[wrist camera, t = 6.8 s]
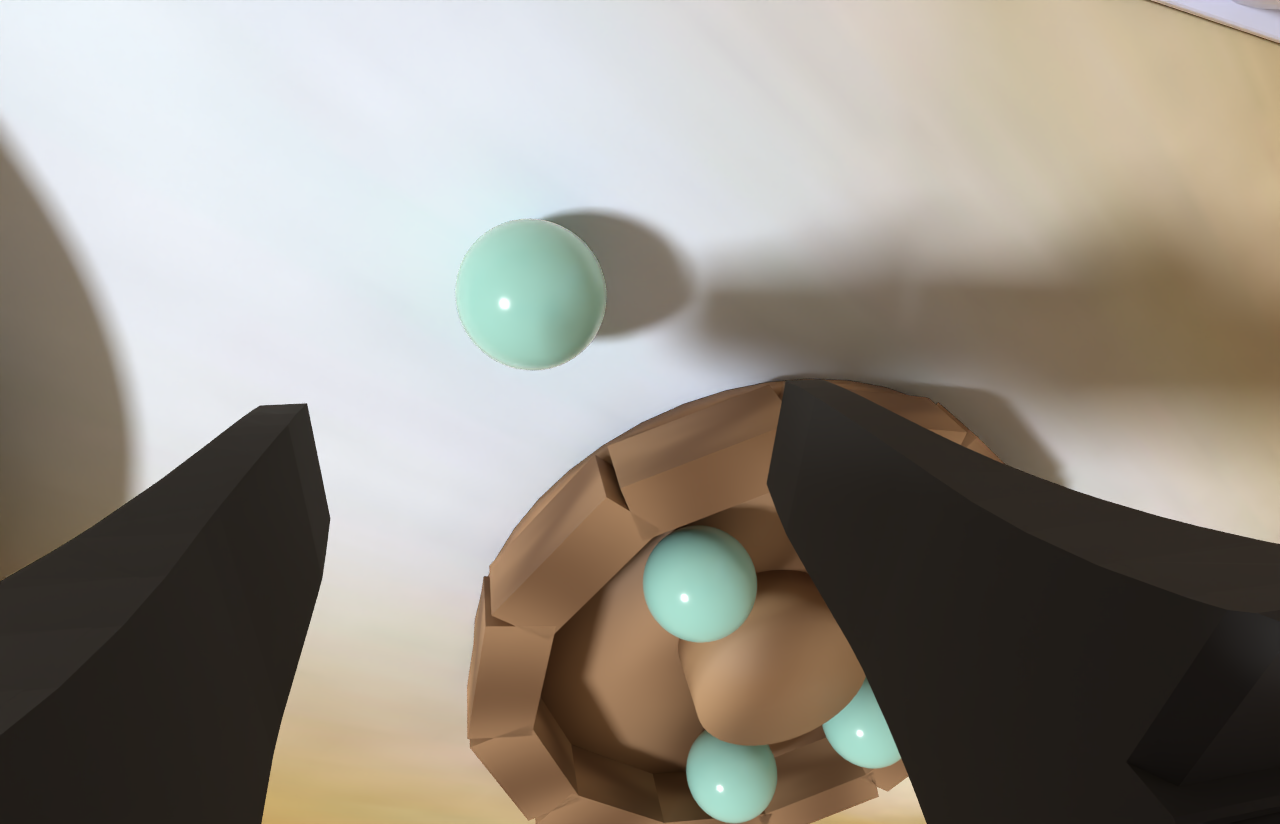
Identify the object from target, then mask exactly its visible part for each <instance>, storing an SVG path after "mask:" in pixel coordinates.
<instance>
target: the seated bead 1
mask: <svg viewBox="0 0 1280 824" xmlns="http://www.w3.org/2000/svg"><path fill="white" fill-rule="evenodd" d="M686 775H687V782H688V786H689V789H690V791H691V794H692V796H693V798H694V799H695V801H696V802H697V804H698V805H699V806H700V807H701V809H702V810H703V811H704V812H706V813H707V814H708V815H710V816H711V817H713V818H715V819H717V820H719V821H722V822H725V823H743V822H747V821H749V820H752V819H754V818H755V817H757V816H758V815H760V814H761V813H762V812H763V811H764V810H765V809H766V808H767V807H768V805H769V803H770V802H771V800H772V798H773V796H774V793H775V790H776V785H777V766H776V761H775V758H774V755H773V753H772V751H771V749H770V747H769V745H758V746H745V745H736V744H731V743H727V742H724V741H722V740H719V739H717V738H716V737H714V736H712V735H711V734H710V733H708V732H707V731H706V730H704V731H703V732H702V733H701V734H700V735H699V736H698V737H697V738H696V740H695V741H694V743H693V744H692V746H691V749H690V751H689V754H688V758H687V764H686Z"/></svg>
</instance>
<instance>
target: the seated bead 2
mask: <svg viewBox="0 0 1280 824" xmlns="http://www.w3.org/2000/svg"><path fill="white" fill-rule="evenodd" d="M822 727H823V730H824V733H825V735H826V738H827V739H828V741H829V743H830V744H831V746H832V747H833V748H834V750H835V751H836V752H837V753H838V754H839V755H840V756H842V757H843V758H844V759H845V760H847V761H849V762H851V763H852V764H855V765H857V766H860V767H864V768H870V769H878V768H884V767H887V766H890V765H892V764H894V763H896V762H897V761H899V760H900V759H901V757H900V754H899V752H898V749H897V747H896V744H895V742H894V739H893V737H892V735H891V732H890V730H889V727H888V725H887V723H886V721H885V718H884V716H883V714H882V712H881V709H880V707H879V705H878V703H877V700H876V698H875V696H874V694H873V691H872V689H871V687H870V685H869V682H868V680H867V678H866V677H865V680H864V682H863V684H862V686H861V688H860V689H859V691H858V693H857V694H856V695H855V697H854V698H853V699H852V700H851V702H850V703H849V704H848V705H847V706H846V707H845V708H844V709H843V710H841V711H840V712H839V713H838V714H837V715H836V716H834V717H833V718H831V719H830V720H829V721H827V722H826V723H824V724H822Z"/></svg>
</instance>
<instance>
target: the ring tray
mask: <svg viewBox="0 0 1280 824" xmlns="http://www.w3.org/2000/svg"><path fill="white" fill-rule="evenodd" d="M802 380H812V379H802ZM822 380H825V379H822ZM825 381H828V382H831V383H833V384H836V385H838V386H840V387H843V388H845V389H847V390H849V391H851V392H854V393H856V394H858V395H860V396H862V397H864V398H866V399H868V400H870V401H872V402H874V403H876V404H878V405H880V406H882V407H884V408H886V409H888V410H890V411H892V412H894V413H896V414H898V415H900V416H902V417H904V418H906V419H908V420H910V421H912V422H914V423H916V424H918V425H920V426H922V427H924V428H926V429H928V430H930V431H932V432H934V433H936V434H938V435H941V436H943V437H945V438H947V439H949V440H951V441H953V442H955V443H957V444H960V445H962V446H964V447H966V448H969V449H971V450H973V451H975V452H978V453H980V454H982V455H984V456H987V457H989V458H991V459H993V460H996V461H998V462H1000V463H1003V462H1002V461H1001V460H1000V459H999V458H998V457H997V456H996V455H995V454H994V453H993V452H992V451H991V450H990V449H989V448H988V447H987V446H986V445H985V444H984V443H983V442H982V441H981V440H980V439H979V438H978V437H977V436H976V435H975V434H974V433H972V432H971V431H970V430H969V429H968V428H967V427H966V426H964V425H963V424H962V423H961V422H960V421H959V420H958V419H957V418H955V417H954V416H953V415H952V414H951V413H950V412H949V411H948V410H946V409H945V408H944V407H943V406H942V405H941V404H940V403H939V402H938V403H937V404H935V403H934V402H932V401H931V400H930V399H929V398H927V397H918V396H910V395H907V394H904V393H901V392H898V391H895V390H892V389H889V388H886V387H882V386H876V385H871V384H865V383H860V382H854V381H848V380H825ZM785 382H786V381H777V382H767V383H762V384H757V385H752V386H747V387H742V388H737V389H732V390H727V391H723V392H720V393H717V394H714V395H711V396H708V397H705V398H702V399H698V400H695V401H692V402H689V403H686V404H683V405H681V406H678V407H676V408H674V409H672V410H669V411H667V412H665V413H663V414H660V415H658V416H656V417H654V418H651V419H649V420H647V421H645V422H642V423H640V424H639V425H637V426H635V427H634V428H632V429H630V430H628V431H627V432H625V433H623V434H622V435H620V436H618V437H616V438H615V439H613V440H611V441H610V442H608V443H606V444H604V445H603V446H601V447H600V448H599V449H597V450H596V451H595V452H593V453H592V454H591V455H589V456H588V457H587V458H585V459H584V460H583V461H581V462H580V463H579V464H577V465H576V466H575V467H573V468H572V469H571V470H569V471H568V472H567V473H566V474H565V475H564V476H563V477H562V478H561V479H559V480H558V481H557V482H556V483H555V484H554V485H553V486H552V487H551V488H550V489H549V490H548V491H547V492H546V493H545V494H544V495H543V496H541V497H540V498H539V499H538V501H537V502H536V503H535V504H534V505H533V507H532V508H531V509H530V510H529V511H528V513H527V514H526V515H525V516H524V518H523V519H522V520H521V521H520V522H519V524H518V525H517V526H516V527H515V528H514V530H513V531H512V533H511V535H510V536H509V538H508V540H507V541H506V543H505V544H504V546H503V548H502V549H501V551H500V552H499V554H498V556H497V557H496V559H495V560H494V562H493V563H492V564H491V565H490V566H489V568H490V573H489V575H488V576H484V578H483V585H482V592H481V597H480V601H479V605H478V609H477V613H476V617H475V627H474V645H473V651H472V658H471V665H470V671H469V678H468V685H467V739H470V748H471V749H472V751H473V752H474V753H475V754H476V756H477V757H478V758H479V759H480V761H481V762H482V763H483V764H484V766H485V767H486V768H487V769H488V771H489V772H490V773H491V774H492V776H493V777H494V778H495V779H496V781H497V782H498V783H499V784H500V786H501V787H502V788H503V789H504V791H505V792H506V793H507V794H508V796H509V797H510V798H511V799H512V801H513V802H514V803H515V804H516V806H517V807H518V808H519V809H520V811H521V812H522V813H523V814H524V816H525V817H526V818H527V819H528V820H531V819H534V818H535V820H536V824H810V823H812V822H815V821H818V820H820V819H823V818H825V817H828V816H830V815H833V814H835V813H838V812H840V811H843V810H846V809H848V808H851V807H853V806H856V805H858V804H861V803H863V802H866V801H869V800H871V799H874V798H876V797H879V796H878V791H877V787H879V788H881V789H883V790H886V791H889V790H891V789H892V788H893V787H895V786H896V785H897V784H899V783H900V782H901V781H903V780H904V779H905V778H907V777H908V774H907V771H906V769H905V766H904V764H903V761H902V759H900V760H899V761H897V762H896V763H894V764H892V765H890V766H887V767H884V768H878V769H870V768H864V767H860V766H857V765H855V764H852V763H851V762H849V761H847V760H845V759H844V758H843V757H842V756H840V755H839V754H838V753H837V752H836V751H835V750H834V748H833V747H832V746H831V744H830V743H829V741H828V739H827V738H826V735H825V733H824V730H823V727H822V724H824V723H826V722H827V721H829V720H830V719H831V718H833V717H834V716H836V715H837V714H838V713H839V712H840V711H841V710H843V709H844V708H845V707H846V706H847V705H848V704H849V703H850V702H851V700H852V699H853V698H854V697H855V695H856V694H857V693H858V691H859V689H860V688H861V686H862V684H863V682H864V680H865V677H866V676H865V673H864V671H863V669H862V667H861V665H860V663H859V661H858V660H857V658H856V656H855V654H854V652H853V650H852V648H851V646H850V644H849V643H848V641H847V639H846V637H845V636H844V634H843V632H842V631H841V629H840V627H839V625H838V624H837V622H836V620H835V619H834V617H833V615H832V613H831V612H830V610H829V608H828V607H827V605H826V603H825V601H824V600H823V598H822V596H821V595H820V593H819V591H818V589H817V588H816V586H815V584H814V583H813V581H812V579H811V577H810V576H809V574H808V572H807V571H806V569H805V567H804V565H803V563H802V562H801V560H800V558H799V556H798V555H797V553H796V551H795V549H794V548H793V546H792V544H791V542H790V540H789V539H788V537H787V535H786V533H785V530H784V528H783V526H782V523H781V521H780V518H779V516H778V514H777V511H776V508H775V506H774V503H773V500H772V498H771V495H770V492H769V489H768V487H767V484H766V483H767V478H768V473H769V467H770V462H771V456H772V451H773V446H774V440H775V435H776V430H777V424H778V419H779V414H780V408H781V403H782V398H783V392H784V387H785ZM1003 464H1004V463H1003ZM694 525H703V526H710V527H715V528H717V529H720V530H722V531H724V532H726V533H728V534H730V535H731V536H733V537H734V538H735V539H737V540H738V541H739V543H740V544H741V545H742V546H743V547H744V548H745V549H746V551H747V552H748V554H749V556H750V557H751V560H752V562H753V564H754V567H755V571H756V576H757V594H756V599H755V603H754V606H753V608H752V611H751V613H750V614H749V616H748V618H747V619H746V621H745V622H744V623H743V624H742V625H741V626H740V627H739V628H738V629H737V630H736V631H735V632H733V633H732V634H730V635H728V636H727V637H725V638H722V639H720V640H717V641H712V642H704V643H696V642H690V641H686V640H682V639H680V638H678V637H676V636H674V635H672V634H670V633H669V632H667V631H666V630H665V629H664V628H662V627H661V626H660V625H659V623H658V622H657V621H656V620H655V619H654V617H653V616H652V614H651V612H650V611H649V608H648V606H647V604H646V601H645V597H644V592H643V574H644V568H645V565H646V562H647V560H648V557H649V555H650V554H651V552H652V550H653V549H654V547H655V546H656V545H657V544H658V543H659V542H660V541H661V540H662V539H663V538H664V537H666V536H667V535H668V534H670V533H672V532H673V531H676V530H678V529H680V528H684V527H688V526H694ZM704 730H706V731H707V732H708V733H710V734H711V735H712V736H714V737H716V738H717V739H719V740H722V741H724V742H727V743H731V744H736V745H745V746H758V745H769V747H770V749H771V751H772V753H773V755H774V758H775V761H776V766H777V785H776V790H775V793H774V796H773V798H772V800H771V802H770V803H769V805H768V807H767V808H766V809H765V810H764V811H763V812H762V813H761V814H760V815H758V816H757V817H755V818H754V819H752V820H749V821H747V822H743V823H725V822H722V821H719V820H717V819H715V818H713V817H711V816H710V815H708V814H707V813H706V812H704V811H703V810H702V809H701V807H700V806H699V805H698V804H697V802H696V801H695V799H694V798H693V796H692V794H691V791H690V789H689V786H688V782H687V775H686V764H687V758H688V754H689V751H690V749H691V746H692V744H693V743H694V741H695V740H696V738H697V737H698V736H699V735H700V734H701V733H702V732H703V731H704ZM876 786H877V787H876Z"/></svg>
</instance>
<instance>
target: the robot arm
mask: <svg viewBox="0 0 1280 824" xmlns="http://www.w3.org/2000/svg"><path fill="white" fill-rule="evenodd" d="M1151 1H1154V2H1157V3H1160V4H1163V5H1166V6H1169V7H1172V8H1175V9H1178V10H1181V11H1184V12H1187V13H1190V14H1193V15H1196V16H1199V17H1202V18H1205V19H1208V20H1211V21H1214V22H1217V23H1220V24H1223V25H1226V26H1229V27H1232V28H1235V29H1238V30H1241V31H1244V32H1247V33H1250V34H1253V35H1256V36H1259V37H1262V38H1265V39H1268V40H1271V41H1274V42H1277V43H1280V0H1151ZM766 484H767V487H768V489H769V492H770V495H771V498H772V500H773V503H774V506H775V508H776V511H777V514H778V516H779V518H780V521H781V523H782V526H783V528H784V530H785V533H786V535H787V537H788V539H789V540H790V542H791V544H792V546H793V548H794V549H795V551H796V553H797V555H798V556H799V558H800V560H801V562H802V563H803V565H804V567H805V569H806V571H807V572H808V574H809V576H810V577H811V579H812V581H813V583H814V584H815V586H816V588H817V589H818V591H819V593H820V595H821V596H822V598H823V600H824V601H825V603H826V605H827V607H828V608H829V610H830V612H831V613H832V615H833V617H834V619H835V620H836V622H837V624H838V625H839V627H840V629H841V631H842V632H843V634H844V636H845V637H846V639H847V641H848V643H849V644H850V646H851V648H852V650H853V652H854V654H855V656H856V658H857V660H858V661H859V663H860V665H861V667H862V669H863V671H864V673H865V676H866V678H867V680H868V682H869V685H870V687H871V689H872V691H873V694H874V696H875V698H876V700H877V703H878V705H879V707H880V709H881V712H882V714H883V716H884V718H885V721H886V723H887V725H888V727H889V730H890V732H891V735H892V737H893V739H894V742H895V744H896V747H897V749H898V752H899V754H900V757H901V759H902V761H903V764H904V766H905V769H906V771H907V774H908V776H909V778H910V781H911V783H912V786H913V788H914V791H915V793H916V796H917V799H918V801H919V804H920V807H921V809H922V812H923V815H924V817H925V820H926V823H927V824H1280V544H1276V543H1271V542H1266V541H1261V540H1256V539H1252V538H1247V537H1243V536H1239V535H1234V534H1230V533H1225V532H1221V531H1217V530H1212V529H1208V528H1203V527H1199V526H1195V525H1191V524H1187V523H1183V522H1179V521H1176V520H1172V519H1168V518H1164V517H1160V516H1156V515H1153V514H1149V513H1146V512H1143V511H1139V510H1136V509H1132V508H1129V507H1126V506H1122V505H1119V504H1115V503H1112V502H1109V501H1105V500H1102V499H1099V498H1096V497H1093V496H1090V495H1086V494H1083V493H1080V492H1077V491H1074V490H1071V489H1069V488H1066V487H1063V486H1060V485H1058V484H1055V483H1052V482H1050V481H1047V480H1044V479H1041V478H1039V477H1036V476H1033V475H1030V474H1028V473H1025V472H1022V471H1020V470H1017V469H1015V468H1013V467H1010V466H1008V465H1005V464H1003V463H1000V462H998V461H996V460H993V459H991V458H989V457H987V456H984V455H982V454H980V453H978V452H975V451H973V450H971V449H969V448H966V447H964V446H962V445H960V444H957V443H955V442H953V441H951V440H949V439H947V438H945V437H943V436H941V435H938V434H936V433H934V432H932V431H930V430H928V429H926V428H924V427H922V426H920V425H918V424H916V423H914V422H912V421H910V420H908V419H906V418H904V417H902V416H900V415H898V414H896V413H894V412H892V411H890V410H888V409H886V408H884V407H882V406H880V405H878V404H876V403H874V402H872V401H870V400H868V399H866V398H864V397H862V396H860V395H858V394H856V393H854V392H851V391H849V390H847V389H845V388H843V387H840V386H838V385H836V384H833V383H831V382H828V381H825V380H822V379H812V380H790V381H786V382H785V387H784V392H783V398H782V403H781V408H780V414H779V419H778V424H777V430H776V435H775V440H774V446H773V451H772V456H771V462H770V467H769V473H768V478H767V483H766ZM329 524H330V515H329V510H328V505H327V500H326V495H325V490H324V485H323V480H322V475H321V470H320V465H319V460H318V456H317V451H316V446H315V441H314V436H313V431H312V426H311V421H310V416H309V411H308V406H307V403H306V404H285V405H263V406H259V407H257V408H256V409H254V410H252V411H251V412H249V413H248V414H247V415H245V416H244V417H242V418H241V419H240V420H238V421H237V422H236V423H234V424H233V425H232V426H230V427H229V428H228V429H227V430H225V431H224V432H223V433H221V434H220V435H219V436H217V437H216V438H215V439H214V440H212V441H211V442H210V443H208V444H207V445H206V446H205V447H203V448H202V449H201V450H199V451H198V452H197V453H195V454H194V455H193V456H191V457H190V458H189V459H187V460H186V461H185V462H183V463H182V464H181V465H179V466H178V467H177V468H175V469H174V470H173V471H171V472H170V473H169V474H167V475H166V476H165V477H163V478H162V479H161V480H159V481H158V482H157V483H155V484H154V485H152V486H151V487H149V488H148V489H146V490H145V491H144V492H142V493H141V494H139V495H138V496H136V497H135V498H133V499H132V500H130V501H129V502H128V503H126V504H125V505H123V506H122V507H120V508H119V509H117V510H116V511H114V512H113V513H112V514H110V515H109V516H107V517H106V518H104V519H103V520H101V521H100V522H98V523H97V524H95V525H94V526H93V527H91V528H89V529H88V530H86V531H85V532H83V533H82V534H80V535H78V536H77V537H75V538H74V539H72V540H70V541H69V542H67V543H65V544H64V545H62V546H61V547H59V548H57V549H56V550H54V551H52V552H51V553H49V554H47V555H46V556H44V557H42V558H40V559H39V560H37V561H35V562H33V563H32V564H30V565H28V566H26V567H25V568H23V569H21V570H19V571H18V572H16V573H14V574H12V575H11V576H9V577H7V578H5V579H4V580H2V581H0V824H261V822H262V816H263V811H264V805H265V799H266V793H267V788H268V782H269V776H270V771H271V765H272V759H273V754H274V750H275V745H276V741H277V737H278V733H279V729H280V725H281V720H282V717H283V713H284V710H285V707H286V703H287V700H288V696H289V693H290V689H291V686H292V683H293V679H294V676H295V672H296V669H297V665H298V662H299V658H300V655H301V652H302V648H303V645H304V641H305V638H306V634H307V631H308V627H309V624H310V620H311V617H312V613H313V610H314V606H315V603H316V599H317V596H318V592H319V588H320V585H321V581H322V576H323V569H324V563H325V556H326V549H327V541H328V532H329Z"/></svg>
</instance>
